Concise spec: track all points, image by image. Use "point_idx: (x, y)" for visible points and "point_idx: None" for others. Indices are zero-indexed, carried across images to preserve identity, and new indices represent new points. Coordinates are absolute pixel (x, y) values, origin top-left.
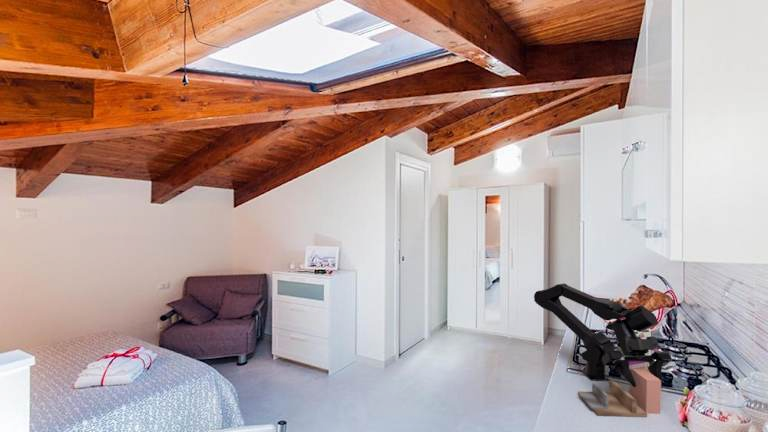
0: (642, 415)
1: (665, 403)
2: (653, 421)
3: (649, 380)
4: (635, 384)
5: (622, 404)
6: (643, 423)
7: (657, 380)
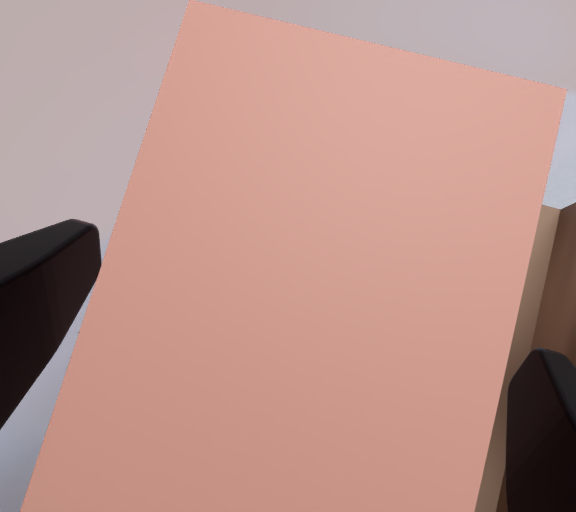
0: None
1: None
2: None
3: (491, 77)
4: (558, 362)
5: None
6: (562, 119)
7: (277, 26)
